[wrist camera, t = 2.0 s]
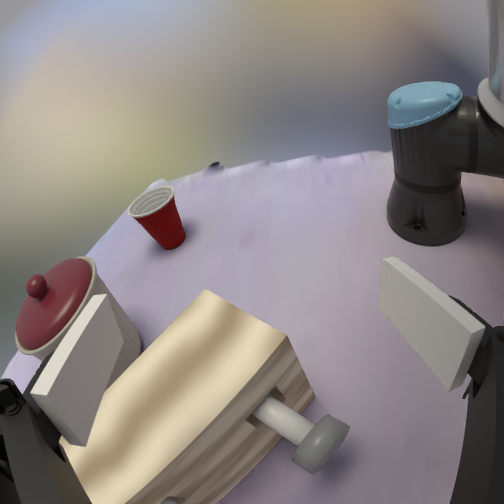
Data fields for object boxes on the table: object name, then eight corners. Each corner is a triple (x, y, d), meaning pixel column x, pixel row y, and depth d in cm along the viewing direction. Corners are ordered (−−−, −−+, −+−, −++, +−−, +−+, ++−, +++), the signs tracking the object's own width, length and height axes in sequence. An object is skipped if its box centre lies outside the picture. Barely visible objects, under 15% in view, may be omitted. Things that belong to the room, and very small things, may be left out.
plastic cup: (189, 253, 59) (162, 207, 52) (148, 261, 62) (119, 220, 55) (201, 221, 67) (178, 178, 60) (163, 230, 70) (139, 191, 63)
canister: (70, 368, 46) (-8, 300, 32) (125, 305, 54) (60, 226, 41) (108, 427, 34) (-3, 356, 21) (178, 345, 43) (91, 247, 30)
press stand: (138, 477, 27) (50, 448, 18) (254, 358, 37) (205, 288, 28) (184, 531, 21) (91, 529, 11) (315, 396, 31) (286, 335, 21)
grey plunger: (222, 406, 27) (200, 390, 24) (253, 372, 29) (236, 350, 26) (316, 475, 19) (307, 473, 16) (350, 431, 21) (349, 420, 18)
